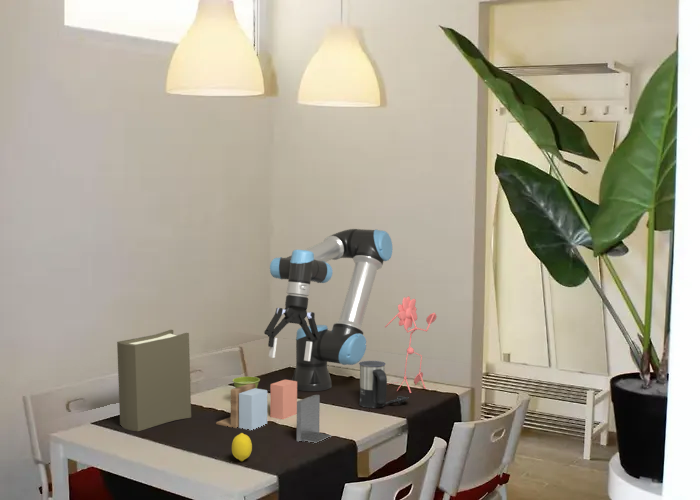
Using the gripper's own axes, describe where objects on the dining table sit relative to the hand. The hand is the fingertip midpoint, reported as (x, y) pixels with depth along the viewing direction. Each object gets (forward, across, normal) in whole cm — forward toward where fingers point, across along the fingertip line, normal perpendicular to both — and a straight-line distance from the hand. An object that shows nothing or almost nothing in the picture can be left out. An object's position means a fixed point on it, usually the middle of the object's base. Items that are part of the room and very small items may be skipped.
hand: (289, 359), depth 274 cm
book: (+25, -38, +15) cm, 48 cm away
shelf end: (+22, -16, +1) cm, 27 cm away
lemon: (+28, -30, -33) cm, 53 cm away
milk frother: (+12, +36, -6) cm, 39 cm away
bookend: (+22, -3, -27) cm, 34 cm away
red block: (+19, 0, 0) cm, 19 cm away
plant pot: (+18, -4, +19) cm, 26 cm away
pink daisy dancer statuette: (+7, +56, +8) cm, 57 cm away
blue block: (+22, -13, -5) cm, 26 cm away
